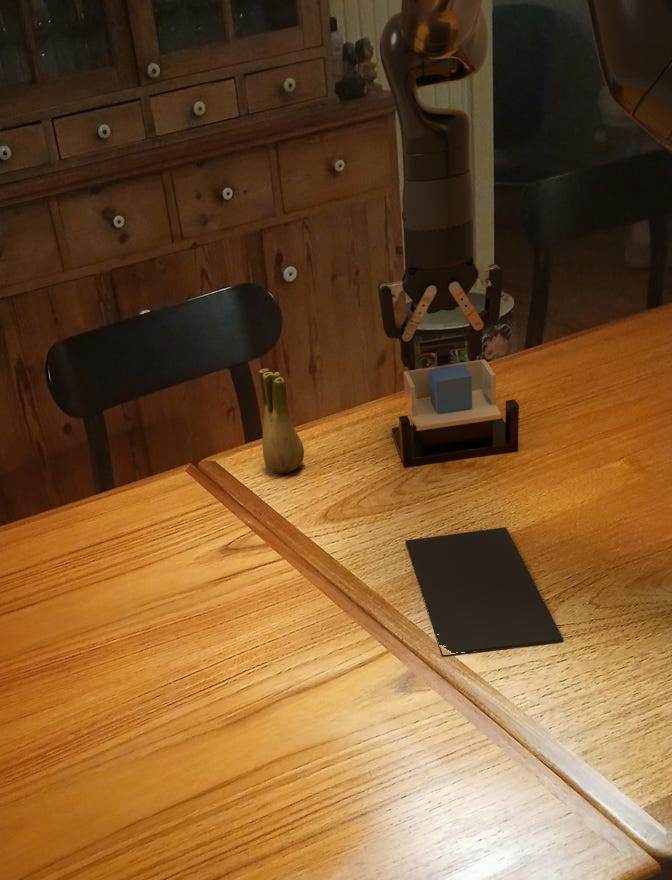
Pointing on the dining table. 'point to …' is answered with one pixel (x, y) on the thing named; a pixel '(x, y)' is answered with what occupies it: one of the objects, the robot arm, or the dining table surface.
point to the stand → (457, 439)
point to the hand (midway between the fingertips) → (441, 363)
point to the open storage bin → (420, 388)
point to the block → (451, 389)
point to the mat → (480, 592)
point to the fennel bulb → (278, 426)
